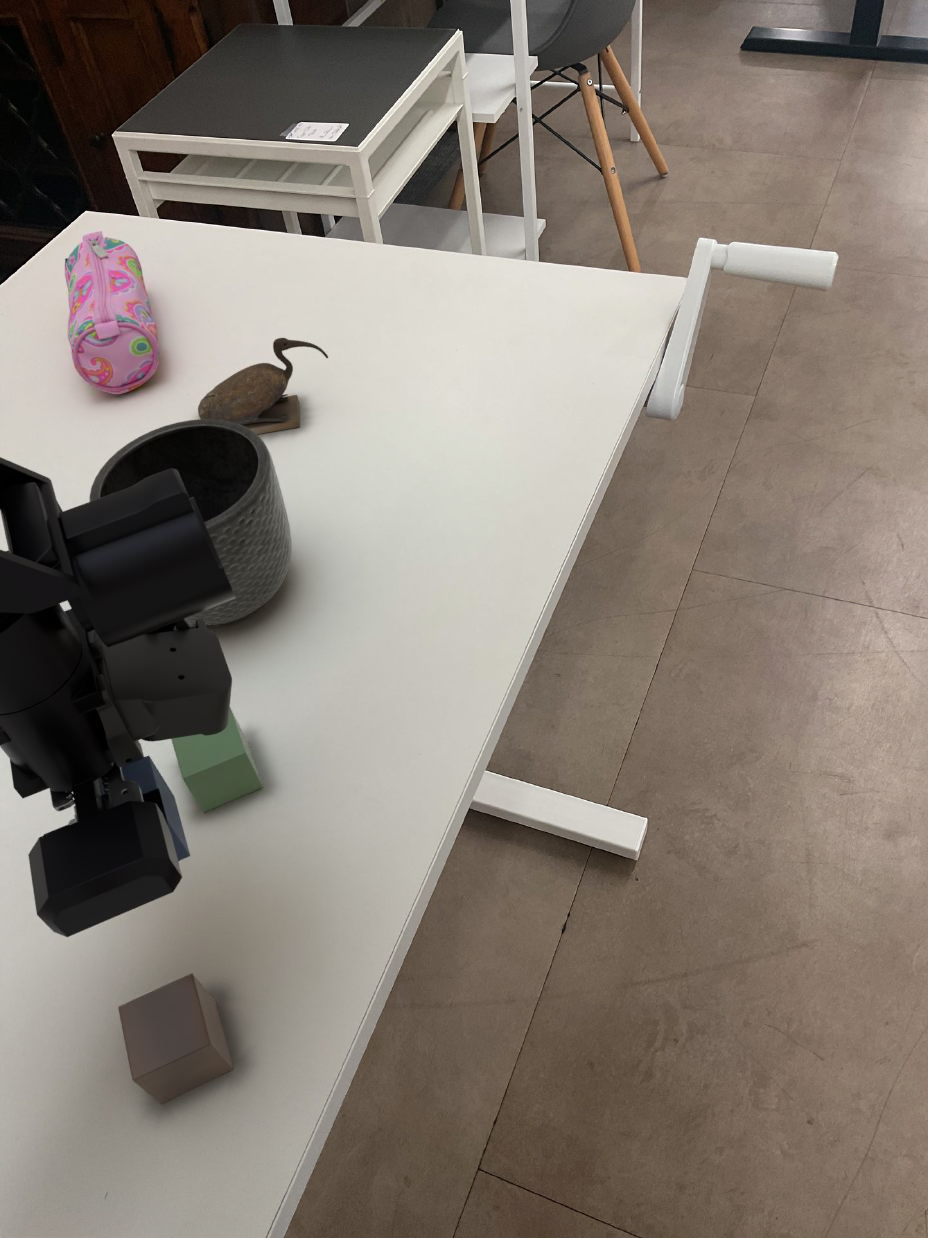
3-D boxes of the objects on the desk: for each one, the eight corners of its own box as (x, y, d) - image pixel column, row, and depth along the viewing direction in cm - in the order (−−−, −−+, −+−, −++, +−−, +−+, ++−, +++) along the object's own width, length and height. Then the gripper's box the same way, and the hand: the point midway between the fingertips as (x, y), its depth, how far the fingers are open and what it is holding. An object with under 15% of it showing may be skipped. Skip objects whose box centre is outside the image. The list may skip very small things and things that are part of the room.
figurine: (340, 393, 102) (321, 318, 96) (342, 420, 99) (322, 345, 93) (204, 417, 102) (175, 343, 96) (202, 444, 99) (172, 371, 93)
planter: (343, 564, 86) (307, 446, 76) (235, 679, 79) (181, 566, 69) (224, 514, 92) (177, 399, 82) (114, 617, 85) (49, 504, 75)
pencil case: (80, 308, 119) (47, 236, 113) (155, 288, 120) (127, 216, 114) (88, 410, 105) (51, 335, 99) (174, 386, 106) (143, 311, 100)
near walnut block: (160, 1104, 59) (132, 1081, 55) (145, 1033, 61) (117, 1006, 58) (234, 1069, 59) (210, 1044, 56) (215, 1000, 62) (192, 972, 59)
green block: (203, 813, 71) (182, 779, 68) (189, 765, 74) (168, 730, 71) (263, 787, 72) (245, 752, 69) (247, 740, 75) (229, 705, 72)
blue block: (114, 889, 57) (83, 850, 54) (101, 826, 60) (71, 785, 57) (190, 856, 58) (165, 816, 55) (174, 796, 61) (148, 754, 58)
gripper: (237, 748, 42) (318, 911, 54) (150, 488, 54) (232, 669, 66) (-31, 856, 40) (114, 1002, 52) (-59, 561, 52) (63, 734, 64)
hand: (138, 832), depth 58 cm, fingers closed on blue block, 4 cm apart
